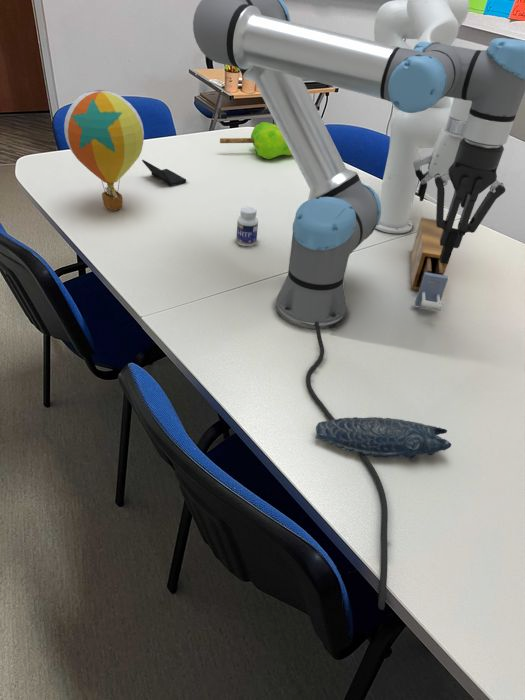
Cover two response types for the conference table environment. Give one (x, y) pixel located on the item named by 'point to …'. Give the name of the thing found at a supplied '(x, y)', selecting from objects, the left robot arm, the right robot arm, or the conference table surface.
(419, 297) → the drawer
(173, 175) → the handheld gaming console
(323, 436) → the fish model
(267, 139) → the decorative tree
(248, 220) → the pill bottle
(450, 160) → the right robot arm
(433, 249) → the tan wooden box
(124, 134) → the toy
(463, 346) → the conference table surface
